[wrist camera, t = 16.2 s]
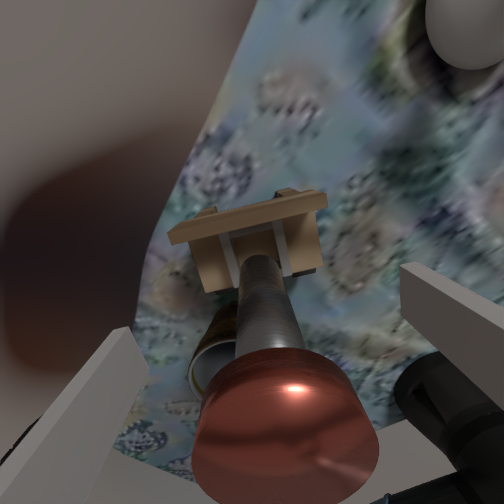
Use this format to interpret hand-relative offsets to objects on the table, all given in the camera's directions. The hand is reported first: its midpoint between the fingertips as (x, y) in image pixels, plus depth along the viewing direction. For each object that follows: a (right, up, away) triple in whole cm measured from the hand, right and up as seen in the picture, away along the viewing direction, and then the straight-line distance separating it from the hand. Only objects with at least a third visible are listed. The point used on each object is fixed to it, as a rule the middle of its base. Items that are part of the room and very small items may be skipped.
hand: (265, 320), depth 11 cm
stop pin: (0, +2, +5) cm, 5 cm away
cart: (0, +5, +18) cm, 19 cm away
